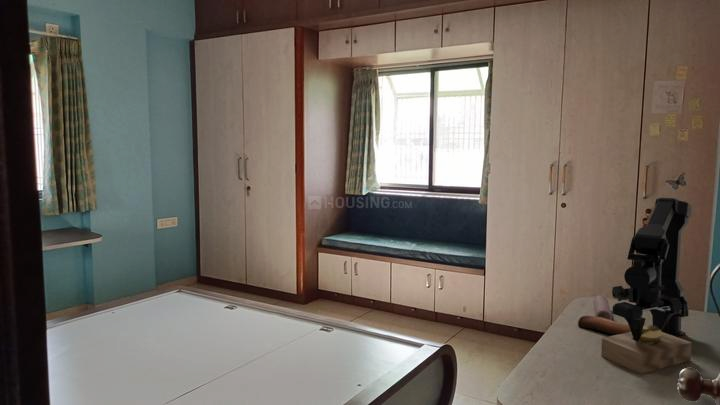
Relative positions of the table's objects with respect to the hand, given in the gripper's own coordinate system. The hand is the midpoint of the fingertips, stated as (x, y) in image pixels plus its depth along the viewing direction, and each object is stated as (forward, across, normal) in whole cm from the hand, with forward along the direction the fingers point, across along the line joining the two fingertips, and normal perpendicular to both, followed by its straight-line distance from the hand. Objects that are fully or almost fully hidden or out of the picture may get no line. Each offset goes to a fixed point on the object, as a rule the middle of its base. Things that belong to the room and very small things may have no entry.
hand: (646, 338), depth 134 cm
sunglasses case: (+6, -8, -18) cm, 21 cm away
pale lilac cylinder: (+6, -18, -30) cm, 36 cm away
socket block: (+6, 0, 0) cm, 6 cm away
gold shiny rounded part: (+4, 0, 0) cm, 4 cm away
